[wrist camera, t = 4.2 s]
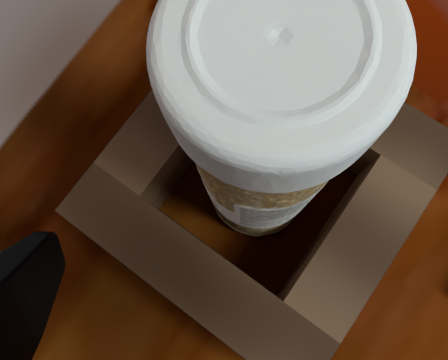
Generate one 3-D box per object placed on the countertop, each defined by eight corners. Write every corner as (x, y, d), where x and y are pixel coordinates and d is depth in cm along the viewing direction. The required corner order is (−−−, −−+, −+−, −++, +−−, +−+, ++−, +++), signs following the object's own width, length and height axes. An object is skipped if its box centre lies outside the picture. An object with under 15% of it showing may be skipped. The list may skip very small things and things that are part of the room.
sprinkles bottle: (206, 154, 20) (129, -66, 7) (295, 142, 20) (392, -106, 7) (216, 244, 19) (150, 189, 6) (311, 233, 19) (460, 148, 6)
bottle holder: (291, 378, 17) (302, 404, 14) (88, 220, 20) (54, 210, 16) (429, 162, 19) (468, 140, 16) (229, 40, 21) (225, -4, 18)
